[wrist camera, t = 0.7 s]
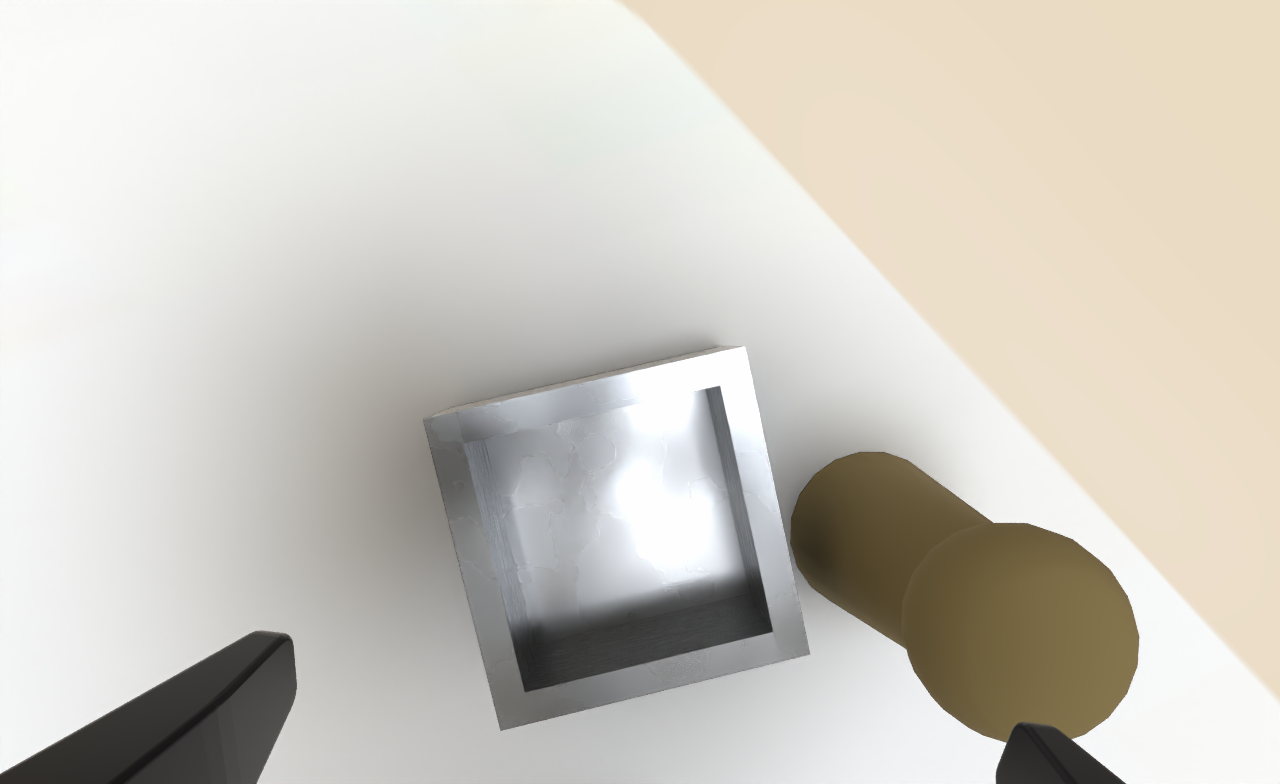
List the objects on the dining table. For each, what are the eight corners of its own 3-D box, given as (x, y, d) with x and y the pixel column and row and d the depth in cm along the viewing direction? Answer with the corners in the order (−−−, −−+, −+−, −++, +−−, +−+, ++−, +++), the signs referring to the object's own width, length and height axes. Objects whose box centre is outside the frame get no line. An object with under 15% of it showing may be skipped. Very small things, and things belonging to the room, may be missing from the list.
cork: (756, 531, 26) (870, 663, 15) (873, 418, 26) (1071, 469, 15) (865, 641, 27) (1050, 846, 16) (979, 530, 27) (1244, 659, 16)
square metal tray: (777, 606, 26) (810, 654, 22) (516, 670, 26) (500, 730, 22) (721, 346, 26) (745, 346, 22) (451, 407, 25) (422, 418, 21)
